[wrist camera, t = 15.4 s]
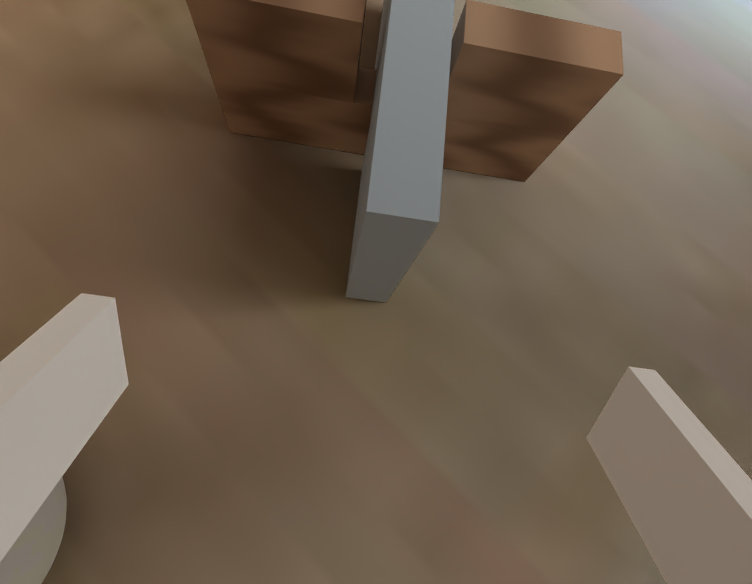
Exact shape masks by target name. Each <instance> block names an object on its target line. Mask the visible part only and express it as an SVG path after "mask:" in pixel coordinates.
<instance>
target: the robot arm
mask: <svg viewBox="0 0 752 584" xmlns="http://www.w3.org/2000/svg"><path fill="white" fill-rule="evenodd" d="M128 385H129V384H128V378H127V371H126V365H125V358H124V352H123V346H122V339H121V333H120V326H119V320H118V314H117V307H116V301H115V298H113V297H106V296H98V295H91V294H83V293H81V294H80V295H79V296H77V297H76V298H75V299H74V300H73V301H72V302H70V303H69V304H68V305H67V306H66V307H64V308H63V309H62V310H61V311H60V312H59V313H57V314H56V315H55V316H54V317H53V318H51V319H50V320H49V321H48V322H47V323H46V324H44V325H43V326H42V327H41V328H40V329H38V330H37V331H36V332H35V333H34V334H33V335H31V336H30V337H29V338H28V339H27V340H25V341H24V342H23V343H22V344H21V345H20V346H18V347H17V348H16V349H15V350H14V351H12V352H11V353H10V354H9V355H8V356H7V357H5V358H4V359H3V360H2V361H1V362H0V562H1V561H2V559H3V558H4V556H5V555H6V554H7V552H8V551H9V549H10V548H11V547H12V545H13V544H14V543H15V541H16V540H17V538H18V537H19V536H20V534H21V533H22V531H23V530H24V529H25V527H26V526H27V525H28V523H29V522H30V520H31V519H32V518H33V516H34V515H35V513H36V512H37V511H38V509H39V508H40V506H41V505H42V504H43V502H44V501H45V500H46V498H47V497H48V495H49V494H50V493H51V491H52V490H53V488H54V487H55V486H56V484H57V483H58V482H59V480H60V479H61V477H62V476H63V475H64V473H65V472H66V470H67V469H68V468H69V466H70V465H71V464H72V462H73V461H74V459H75V458H76V457H77V455H78V454H79V452H80V451H81V450H82V448H83V447H84V446H85V444H86V443H87V441H88V440H89V439H90V437H91V436H92V434H93V433H94V432H95V430H96V429H97V428H98V426H99V425H100V423H101V422H102V421H103V419H104V418H105V416H106V415H107V414H108V412H109V411H110V409H111V408H112V407H113V405H114V404H115V403H116V401H117V400H118V398H119V397H120V396H121V394H122V393H123V391H124V390H125V389H126V387H127V386H128ZM586 438H587V440H588V442H589V444H590V446H591V448H592V449H593V451H594V453H595V455H596V457H597V459H598V460H599V462H600V464H601V466H602V468H603V469H604V471H605V473H606V475H607V477H608V479H609V480H610V482H611V484H612V486H613V488H614V489H615V491H616V493H617V495H618V497H619V499H620V500H621V502H622V504H623V506H624V508H625V509H626V511H627V513H628V515H629V517H630V519H631V520H632V522H633V524H634V526H635V528H636V530H637V531H638V533H639V535H640V537H641V539H642V540H643V542H644V544H645V546H646V548H647V550H648V551H649V553H650V555H651V557H652V559H653V560H654V562H655V564H656V566H657V568H658V570H659V571H660V573H661V575H662V577H663V579H664V580H665V582H666V584H752V480H751V479H750V478H749V476H748V475H747V474H746V473H745V472H744V471H743V470H742V468H741V467H740V466H739V465H738V464H737V463H736V462H735V460H734V459H733V458H732V457H731V456H730V455H729V454H728V453H727V451H726V450H725V449H724V448H723V447H722V446H721V445H720V443H719V442H718V441H717V440H716V439H715V438H714V437H713V435H712V434H711V433H710V432H709V431H708V430H707V429H706V427H705V426H704V425H703V424H702V423H701V422H700V421H699V420H698V418H697V417H696V416H695V415H694V414H693V413H692V412H691V410H690V409H689V408H688V407H687V406H686V405H685V404H684V402H683V401H682V400H681V399H680V398H679V397H678V396H677V394H676V393H675V392H674V391H673V390H672V389H671V388H670V386H669V385H668V384H667V383H666V382H665V381H664V380H663V379H662V377H661V376H660V375H659V374H658V373H657V372H656V371H655V370H651V369H644V368H636V367H629V366H628V368H627V370H626V371H625V373H624V375H623V376H622V378H621V380H620V381H619V383H618V385H617V386H616V388H615V390H614V392H613V393H612V395H611V397H610V398H609V400H608V402H607V403H606V405H605V407H604V408H603V410H602V412H601V413H600V415H599V417H598V419H597V420H596V422H595V424H594V425H593V427H592V429H591V430H590V432H589V434H588V435H587V437H586Z"/></svg>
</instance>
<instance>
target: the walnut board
mask: <svg viewBox="0 0 752 584" xmlns="http://www.w3.org/2000/svg"><path fill="white" fill-rule="evenodd" d="M186 1H187V4H188V7H189V10H190V13H191V16H192V19H193V22H194V25H195V28H196V31H197V34H198V37H199V40H200V43H201V46H202V49H203V52H204V55H205V58H206V61H207V64H208V67H209V70H210V74H211V77H212V80H213V83H214V86H215V89H216V92H217V95H218V98H219V101H220V104H221V107H222V110H223V113H224V116H225V119H226V122H227V125H228V128H229V131H230V132H232V133H238V134H244V135H250V136H256V137H262V138H268V139H274V140H280V141H286V142H292V143H298V144H304V145H310V146H316V147H322V148H328V149H333V150H339V151H345V152H351V153H357V154H363V155H365V150H366V144H367V138H368V133H369V127H370V122H371V114H372V106H373V98H374V90H375V82H376V74H377V70H376V69H371V68H366V67H360V66H359V60H360V51H361V43H362V34H363V26H364V17H365V8H366V0H186ZM623 75H624V73H623V56H622V39H621V32H620V31H615V30H610V29H606V28H601V27H596V26H591V25H586V24H582V23H577V22H572V21H567V20H562V19H558V18H553V17H548V16H543V15H538V14H534V13H529V12H524V11H519V10H514V9H509V8H505V7H500V6H495V5H490V4H485V3H481V2H476V1H471V0H466V3H465V6H464V8H463V11H462V14H461V17H460V19H459V22H458V25H457V28H456V30H455V33H454V36H453V39H452V45H451V59H450V73H449V87H448V101H447V115H446V130H445V144H444V158H443V168H446V169H452V170H458V171H464V172H470V173H476V174H482V175H488V176H494V177H500V178H506V179H512V180H518V181H524V182H525V181H526V180H527V179H528V177H529V176H530V175H531V174H532V173H533V172H534V171H535V170H536V169H537V168H538V167H539V166H540V164H541V163H542V162H543V161H544V160H545V159H546V158H547V157H548V156H549V155H550V154H551V153H552V151H553V150H554V149H555V148H556V147H557V146H558V145H559V144H560V143H561V142H562V141H563V140H564V138H565V137H566V136H567V135H568V134H569V133H570V132H571V131H572V130H573V129H574V128H575V127H576V125H577V124H578V123H579V122H580V121H581V120H582V119H583V118H584V117H585V116H586V115H587V114H588V112H589V111H590V110H591V109H592V108H593V107H594V106H595V105H596V104H597V103H598V102H599V101H600V99H601V98H602V97H603V96H604V95H605V94H606V93H607V92H608V91H609V90H610V89H611V88H612V86H613V85H614V84H615V83H616V82H617V81H618V80H619V79H620V78H621V77H622V76H623Z"/></svg>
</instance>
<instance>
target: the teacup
mask: <svg viewBox="0 0 752 584" xmlns="http://www.w3.org/2000/svg"><path fill="white" fill-rule="evenodd" d="M66 510H67V497H66V490H65V485H64V481H63V477H61V479H60V480H59V482H58V483H57V484H56V486H55V487H54V488H53V490H52V491H51V493H50V494H49V495H48V497H47V498H46V500H45V501H44V502H43V504H42V505H41V506H40V508H39V509H38V511H37V512H36V513H35V515H34V516H33V518H32V519H31V520H30V522H29V523H28V525H27V526H26V527H25V529H24V530H23V531H22V533H21V534H20V536H19V537H18V538H17V540H16V541H15V543H14V544H13V545H12V547H11V548H10V549H9V551H8V552H7V554H6V555H5V556H4V558H3V559H2V561H1V562H0V584H41V583H42V582H43V580H44V579H45V577H46V575H47V574H48V572H49V570H50V568H51V566H52V564H53V562H54V559H55V557H56V555H57V552H58V550H59V547H60V544H61V541H62V537H63V533H64V528H65V523H66Z"/></svg>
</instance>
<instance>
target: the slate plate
mask: <svg viewBox="0 0 752 584" xmlns="http://www.w3.org/2000/svg"><path fill="white" fill-rule="evenodd" d="M454 2H455V0H384V2H383V9H382V16H381V23H380V31H379V39H378V47H377V55H376V63H375V69H376V70H377V74H376V82H375V90H374V98H373V106H372V114H371V122H370V127H369V133H368V138H367V144H366V150H365V155H364V161H363V166H362V172H361V180H360V188H359V196H358V204H357V212H356V220H355V227H354V235H353V243H352V251H351V259H350V267H349V274H348V282H347V290H346V297H347V298H355V299H362V300H370V301H378V302H385V303H386V302H387V301H388V299H389V298H390V296H391V295H392V293H393V292H394V290H395V289H396V287H397V286H398V284H399V282H400V281H401V279H402V278H403V276H404V275H405V273H406V272H407V270H408V269H409V267H410V266H411V264H412V263H413V261H414V260H415V258H416V257H417V255H418V254H419V252H420V251H421V249H422V247H423V246H424V244H425V243H426V241H427V240H428V238H429V237H430V235H431V234H432V232H433V231H434V229H435V228H436V226H437V225H438V223H439V215H440V201H441V186H442V172H443V158H444V144H445V130H446V115H447V101H448V87H449V73H450V59H451V45H452V30H453V16H454Z"/></svg>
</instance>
